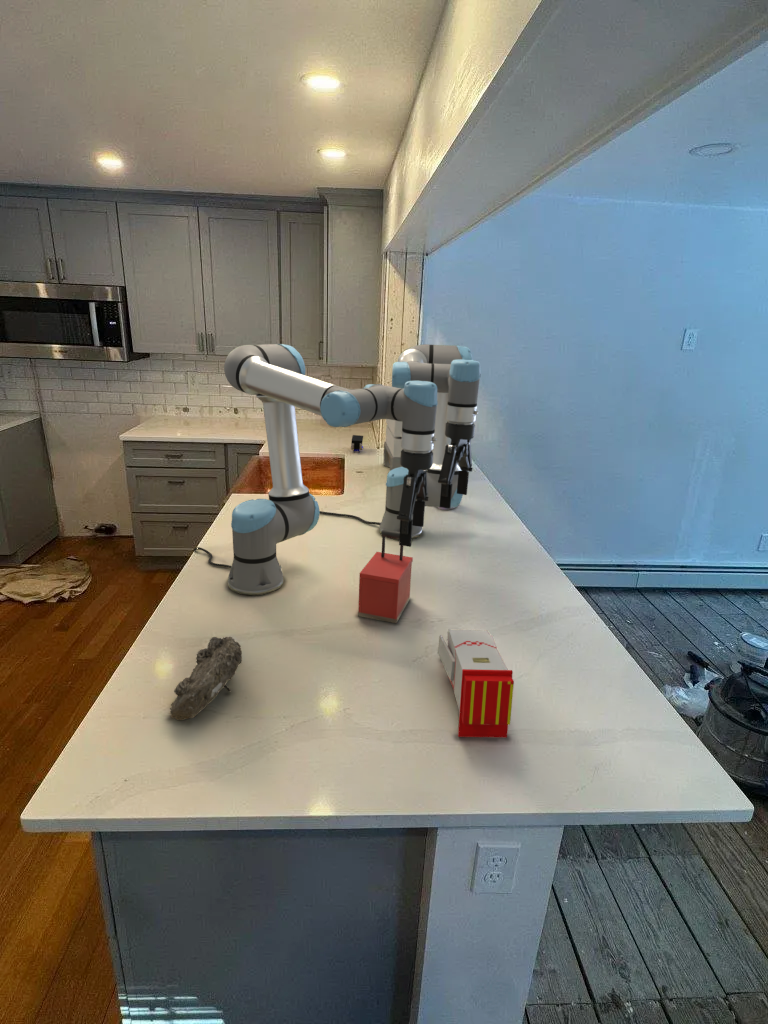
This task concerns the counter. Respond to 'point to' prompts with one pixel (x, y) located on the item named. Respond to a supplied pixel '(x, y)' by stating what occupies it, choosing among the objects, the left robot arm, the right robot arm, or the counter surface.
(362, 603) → the chest
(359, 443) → the figurine character
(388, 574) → the lid
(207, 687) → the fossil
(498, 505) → the counter surface
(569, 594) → the counter surface
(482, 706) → the toy
